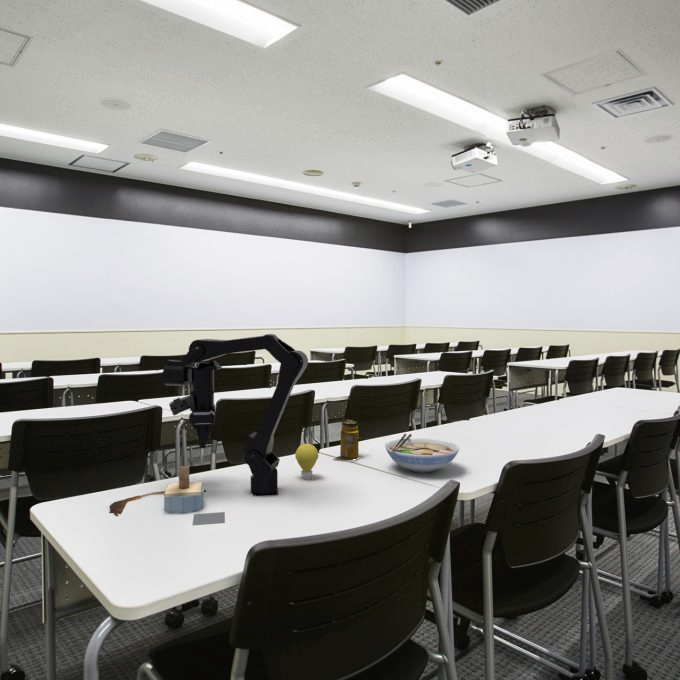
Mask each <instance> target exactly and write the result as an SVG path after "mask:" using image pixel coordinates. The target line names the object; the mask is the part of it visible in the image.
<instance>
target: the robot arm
mask: <svg viewBox="0 0 680 680" xmlns="http://www.w3.org/2000/svg"><path fill="white" fill-rule="evenodd" d="M262 350H266V352H268V353H269V355H271V356H272V357H273V359H275V360H276V361H277V362H278V363H280V365H279V371H278V380H277V381H278V382H277V384H276V387H275V390H274V392H273V394H272V397H271V399H270V402H269V404H268V407H267V410H266V411H265V414H264V417H263V419H262V421H261V425H260V427H259V429H258V431H257V432H256V431H254V432H253V433H251V434H249V435H248V436H247V439H246V444H245V446H244V447H243V448H242V452H243V460H244V462H245V464H246V465H247V466H249V469H250V472H251V475H250V494H252V496H253V497H267V496H278V495H279V492H278V466H279V463H280V459H281V458H279V457H278V456H277V455H276V454H275V452H273V447H274V442H275V438H274V437H275V433H276V430H277V428H278V426H279V423H280V420H281V417H282V415H283V413H284V411H285V408H286V406H287V403H288V400H289V398H290V395H291V394H292V390H293V388H294V386H295V385H296V383H297V382H298V380H299V379H300V378H301V377H302V375H303V373H304V372H305V370H306V369H307V367H308V365H309V358H308V356H307V355H306V353H305V352H304V351H302V350H300V349H299V350H296V349H295V348H294V347H292V346H291V345H289V344H288V343H286V342H285V341H284V340H282V339H281V338H279V337H278V336H277V335H276V334H275V333H268V334H264V335H258V336H251V337H250V336H249V337H242V338H237V339H236V338H233V339H217V338H216V339H213V338H203V339H202V338H201V339H196V340H193V341H191V342H190V345H189V346H188V351H187V353H186V354H185V356H184V357H183V359H182V360H175V359H167V360H166V361H165V365H164V367H163V370H162V373H161V380H162V383H163V384H164V385H165V386H180V387H181V386H182V387H183V386H184V387H185V386H188V385H189V384H190V383H191V390H190V392H189V395H186V396H184V397H177V398H174V399H172V400H173V401H171V402H170V403H168V404H169V408H170V412H171V413H172V415H173V416H176V415H179V414H180V413H183V412H185V411H187V410H189V411H190V412H191V413H189V416H188V424H189V425H190V427H192V428H194V429H195V431H196V435H197V439H198V444H199V449H205V448H206V445H207V443H208V441H209V438H210V435H211V432H212V430H213V427H214V425H215V415H216V414H215V413H216V404H215V371H216V370H221V369H222V368H223V366H222V365H220V363H218V362H217V360H213V359H216V358H219V357H221V356H222V357H223V356H225V355H227V354H228V355H229V354H234V353H235V354H237V353H243V352H244V353H245V352H254V351H262ZM210 360H211V361H210ZM205 361H210V362H205ZM195 364H196V365H197V364H198V365H197V366H192V365H195Z"/></svg>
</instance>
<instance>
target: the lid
mask: <svg viewBox="0 0 680 680" xmlns="http://www.w3.org/2000/svg"><path fill="white" fill-rule="evenodd" d="M202 484H203V482H202V481H193V482H191V481H190V465H181V466H178V483H177V482H175V483H168V484H167V486H166V489H165V490H166V493H165V497H177V496H194V495H201V488H203V487H202V486H203V485H202Z"/></svg>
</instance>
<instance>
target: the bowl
mask: <svg viewBox="0 0 680 680" xmlns="http://www.w3.org/2000/svg"><path fill="white" fill-rule="evenodd" d="M166 490H167V489H165V490H164V491H165V493H166ZM204 490H205V488H204V487H202V488H201V495H194V496H177V497H165V493H164V494H163V499H164V500H163V506H164V507H163V508H164V511H165V512H167V513H170V514H176V515H177V514H178V515H179V514H180V515H182V514H183V515H185V514H190V513H194V512H198V511H201V510H202V509H203V508H204V504H205V502H204V501H205V500H204V499H205V492H204Z"/></svg>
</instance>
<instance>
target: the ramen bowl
mask: <svg viewBox="0 0 680 680" xmlns="http://www.w3.org/2000/svg"><path fill="white" fill-rule="evenodd" d="M412 435H413V434H412V433H410V434H408V435H407V433H404V434H403V435H402V436H401V438H400V439H395V440H394V439H393V440H389V441H388V442H385V444H384V448H385V450H386V452H387V454H388V455H389V457H390V458H391V459H392V460H393V461H394V462H395V463H396V464H398V465H399V466H400V467H402V468H405V469H408V470H409V471H411V472H413V473H421V474H425V473H431V472H434V471H436V470H440V469H443V468H444V467H446V466H448V465H449V464H450V463H452V461H453V460H454V459H455V458H456V456H457V455H458V452H459V451H460V447H459V445H457V444H456V443H453V442H448V441H445V440H440V439H435V438H434V439H432V438H421V437H420V438H418V437H417V438H414V437H412Z"/></svg>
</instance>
